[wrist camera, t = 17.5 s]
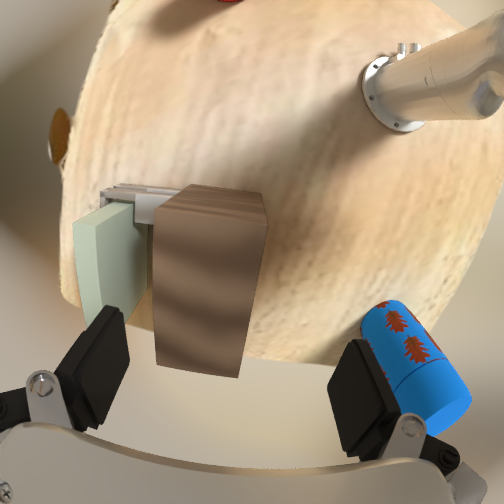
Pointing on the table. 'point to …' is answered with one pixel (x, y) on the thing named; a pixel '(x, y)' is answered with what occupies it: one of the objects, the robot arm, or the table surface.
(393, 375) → the thermos
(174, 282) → the cabinet
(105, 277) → the door
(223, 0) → the canned food
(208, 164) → the table surface
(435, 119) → the robot arm
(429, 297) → the table surface
